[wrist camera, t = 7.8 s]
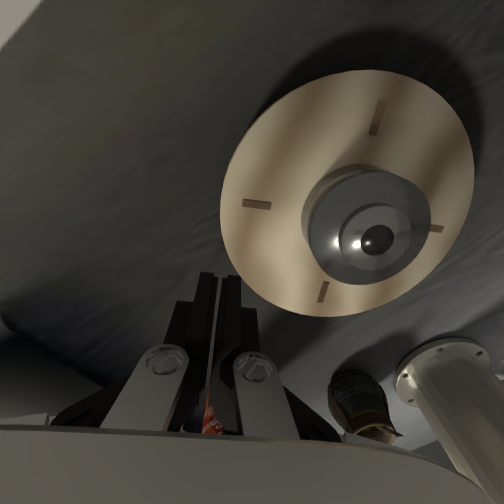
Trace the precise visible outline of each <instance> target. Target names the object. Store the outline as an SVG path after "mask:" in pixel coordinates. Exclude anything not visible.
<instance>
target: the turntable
mask: <svg viewBox="0 0 504 504" xmlns="http://www.w3.org/2000/svg"><path fill="white" fill-rule="evenodd" d="M352 164H371V165H374V166H378V167H380V168H382V169H384V170H387V171H389V172H391V173H393V174H396V175H398V176H400V177H402V178H405V179H407V180H409V181H411V182H412V183H414V184H415V185H416V186H417V187H418V188H419V189H420V190H421V191H422V192H423V194H424V195H425V197H426V199H427V201H428V203H429V207H430V212H431V225H430V231H429V234H428V238H427V240H426V242H425V244H424V246H423V248H422V250H421V251H420V253H419V254H418V255H417V257H416V258H415V259H414V260H413V261H412V262H411V263H410V264H409V265H408V266H407V267H406V268H405V269H403V270H402V271H401V272H399V273H397V274H396V275H394V276H392V277H390V278H388V279H386V280H383V281H381V282H378V283H374V284H368V285H350V284H345V283H342V282H339V281H337V280H335V279H333V278H331V277H330V276H328V275H327V274H326V273H325V272H324V271H323V270H322V269H321V268H320V266H319V265H318V263H317V261H316V260H315V258H314V256H313V254H312V252H311V250H310V248H309V246H308V244H307V242H306V240H305V239H304V236H303V233H302V229H301V214H302V209H303V206H304V203H305V200H306V198H307V196H308V195H309V193H310V191H311V190H312V189H313V187H314V186H315V185H316V184H317V183H318V182H319V181H320V180H321V179H322V178H323V177H325V176H326V175H327V174H329V173H331V172H332V171H334V170H336V169H338V168H341V167H344V166H347V165H352ZM473 188H474V161H473V152H472V149H471V145H470V141H469V137H468V135H467V133H466V130H465V128H464V126H463V124H462V122H461V120H460V119H459V117H458V116H457V114H456V113H455V111H454V110H453V108H452V107H451V106H450V105H449V104H448V103H447V102H446V101H445V100H444V99H443V98H442V97H441V96H440V95H439V94H438V93H436V92H435V91H433V90H432V89H431V88H429V87H428V86H427V85H425V84H423V83H421V82H418V81H416V80H414V79H412V78H410V77H407V76H404V75H400V74H397V73H393V72H387V71H378V70H357V71H348V72H343V73H338V74H333V75H329V76H325V77H322V78H320V79H317V80H314V81H311V82H308V83H306V84H304V85H302V86H300V87H298V88H296V89H294V90H292V91H290V92H288V93H287V94H285V95H284V96H283V97H281V98H280V99H278V100H277V101H275V102H274V103H273V104H272V105H271V106H269V107H268V108H267V109H266V110H265V111H264V112H263V113H262V114H261V115H260V116H259V117H258V118H257V119H256V120H255V121H254V123H253V124H252V125H251V126H250V127H249V129H248V130H247V131H246V133H245V134H244V136H243V137H242V139H241V140H240V142H239V144H238V145H237V147H236V149H235V151H234V153H233V156H232V158H231V160H230V162H229V165H228V168H227V171H226V174H225V178H224V183H223V189H222V194H221V207H220V221H221V231H222V236H223V240H224V244H225V248H226V250H227V253H228V255H229V258H230V260H231V262H232V264H233V265H234V267H235V269H236V271H237V272H238V273H239V275H240V276H241V277H242V279H243V280H244V281H245V282H246V283H247V284H248V285H249V286H250V287H251V288H252V289H253V290H254V291H255V292H256V293H257V294H259V295H260V296H261V297H263V298H264V299H265V300H267V301H269V302H271V303H273V304H274V305H276V306H278V307H281V308H283V309H286V310H288V311H291V312H295V313H299V314H303V315H310V316H320V317H333V316H345V315H350V314H356V313H360V312H363V311H367V310H370V309H373V308H376V307H378V306H381V305H383V304H385V303H387V302H389V301H391V300H393V299H395V298H397V297H399V296H400V295H402V294H404V293H405V292H407V291H408V290H410V289H411V288H413V287H414V286H415V285H416V284H418V283H419V282H420V281H422V280H423V279H424V278H425V277H426V276H427V275H428V274H429V273H430V272H431V271H432V270H433V269H434V268H435V267H436V266H437V265H438V264H439V262H440V261H441V260H442V259H443V258H444V256H445V255H446V254H447V252H448V251H449V249H450V248H451V247H452V245H453V243H454V242H455V240H456V238H457V236H458V235H459V233H460V231H461V229H462V226H463V224H464V222H465V219H466V217H467V214H468V210H469V207H470V204H471V199H472V194H473Z"/></svg>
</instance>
